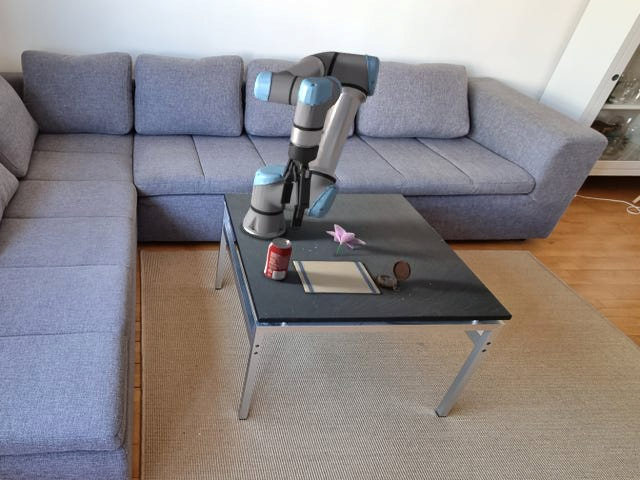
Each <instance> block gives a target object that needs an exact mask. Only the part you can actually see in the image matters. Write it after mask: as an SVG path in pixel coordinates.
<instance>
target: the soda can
mask: <svg viewBox="0 0 640 480" xmlns="http://www.w3.org/2000/svg"><path fill="white" fill-rule="evenodd" d="M292 252H293V246H292V242H291V241H290V240H289V239H287V238H284V237H280V238H275V239H272V240H271V242H270V243H269V245H268V250H267V254H266V260H265V265H264V272H263V273H264V276H266V277H267V278H268V279H271V280H273V281H281V280H283V279H286V277H287V276H288V275H287V274H288V270H289V265H290V261H291V257H292Z"/></svg>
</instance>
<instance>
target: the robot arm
mask: <svg viewBox="0 0 640 480" xmlns="http://www.w3.org/2000/svg"><path fill="white" fill-rule="evenodd" d="M380 64H381V60H380V58H379V57H378V56H375V55H368V54H367V53H366V54H359V53H352V52H351V53H350V52H342V51H341V52H340V51H335V50H334V51H333V50H332V51H331V50H329V51H322V52H318V53H317V52H316V53H313V54H309V55H306V56H305V57H303V58H301V59H300V60H299V61H298V62H297V63H296V64H294V65H292V66H290V67H287V68H285V69H282V70H280V71H276V72H275V71H265V70H263V71H261V72H260V73H258V74H257V77H256V80H255V83H254V89H253V93H254V97H255V98H256V99H257V100H259V101H263V102H265V103H275V104H280V105H281V104H282V105H287V106H293V107H295V114H294V117H293V118H294V119H293V123H292V126H291V127H292V128H291V133H290V138H289V140H290V142H289V146H288V151H287V156H288V160H287V162H286V165H282V164H271V165H265V166H262V167H260V168H259V169H257V171H256V172H255V175H254V180H253V183H252V184H253V185H252V193H251V200H250V208H249V209H248V211H247V213H246V214H245V217H244V219H243V220H242V227H241V228H242V230H243V231H244V233H245V234H246V235H248V236H250V237H252V238H254V239H258V240H263V241H270V240H271V241H272V240H273V239H275V238H283V236H284V235H285V233H286V229H287V225H286V220H285V213H284V212H285V210H286V211H288V212H292V215H291V222H290V228H302V226H303V225H302V224H303V221H304V216H307V217H309V218H311V217H312V218H316V219H323V218H324V217H325V216H326V215H328V213H329V211H330V210H331V208H332V207H333V204H334V203H335V201H336V198H337V195H338V193H339V190H340V186H339V185H338V184H337V178H336V175H335V172H336V170H337V166H338V164H339V161H340V158H341V156H342V154H343V150H344V147H345V144H346V142H347V139H348V136H349V134H350V131H351V129H352V126H353V122H354V120H355V118H356V117H355V116H356V115H357V112H358V109H359V106H361V105H363V104H365V103H366V101H367V99H368V97H373V96H374V95H375V93H376V87H377V83H378V77H379V70H380V66H381V65H380Z"/></svg>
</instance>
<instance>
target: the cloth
mask: <svg viewBox="0 0 640 480" xmlns="http://www.w3.org/2000/svg"><path fill="white" fill-rule="evenodd" d="M292 262H293V265H294V267H295V269H296V271H297V272H296V273H297V274H298V277H299V279H300V281H301V284H302V286H303V288H304V291H305V293H306V294H307V293H310V294H311V293H313V294H314V293H316V294H372V295H373V294H379V295H380V294H381V291H380V290H379V288H378V286H377V285H376V284H375V282H374V281H373V279H372V277H371V276H370V274H369V272H368V270H367V269H366V268H365V266H364V265H363V263H362V261H328V260H327V261H325V260H324V261H322V260H321V261H319V260H318V261H317V260H314V261H313V260H293V261H292Z"/></svg>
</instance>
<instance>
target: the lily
mask: <svg viewBox="0 0 640 480" xmlns="http://www.w3.org/2000/svg"><path fill="white" fill-rule="evenodd" d="M325 233H326V234H329V235H331V236H332V237H334V238H333V241H334V242H335V243H336V242H337V243H340V244H339V246H338V249H337V251H336V254H335V255H336V256H338V254H339V250H340V248H341V246H342V245H344V244H346V245H347V246H349V248H350V249H352V250H353V249H354V244H359V245H360V244H361V245H367V243H366V242H365V241H363V240H362V239H359V238H358V237H355V236H356V233H354V232H347V231H346V230H345V229H344V228H343V227H341V226H340V225H338V224H334V231H329V230H326V231H325Z"/></svg>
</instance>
